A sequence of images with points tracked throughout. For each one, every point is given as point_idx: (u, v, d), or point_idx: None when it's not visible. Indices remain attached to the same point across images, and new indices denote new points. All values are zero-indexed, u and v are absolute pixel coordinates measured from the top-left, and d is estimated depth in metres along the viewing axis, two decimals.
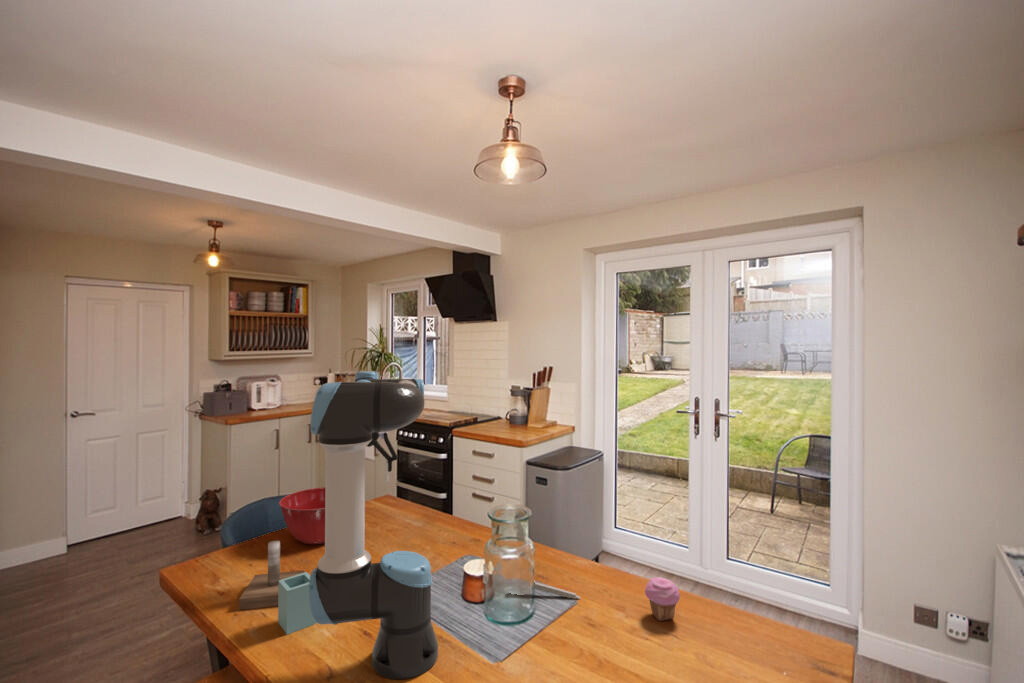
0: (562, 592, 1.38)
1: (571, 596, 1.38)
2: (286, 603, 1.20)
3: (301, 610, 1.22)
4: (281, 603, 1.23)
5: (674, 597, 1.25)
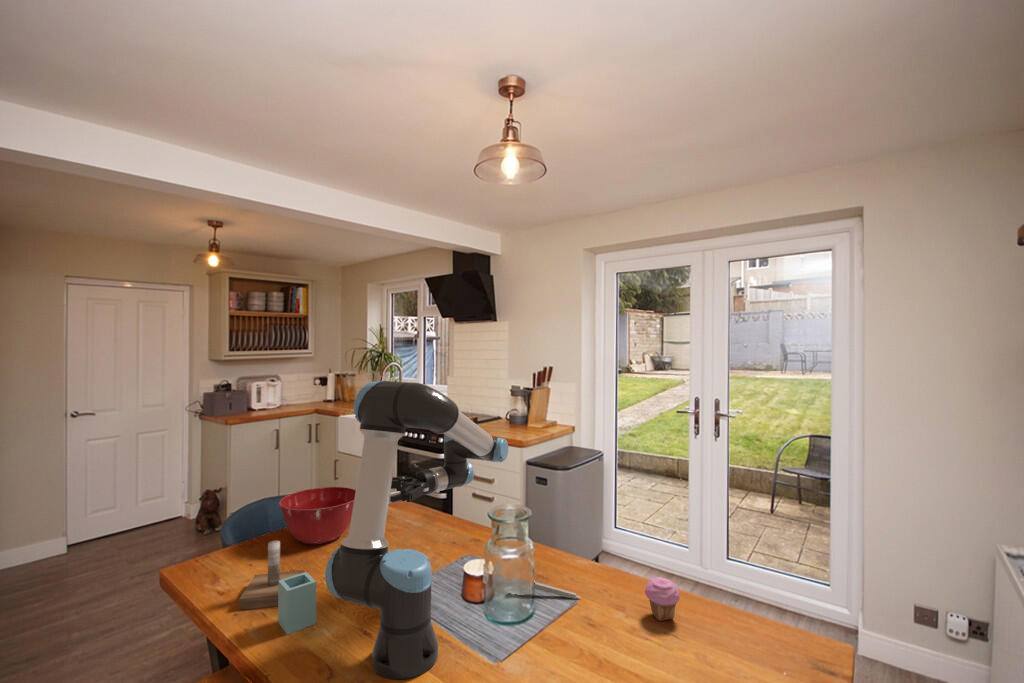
0: (562, 592, 1.38)
1: (571, 596, 1.38)
2: (286, 603, 1.20)
3: (301, 610, 1.22)
4: (281, 603, 1.23)
5: (674, 597, 1.25)
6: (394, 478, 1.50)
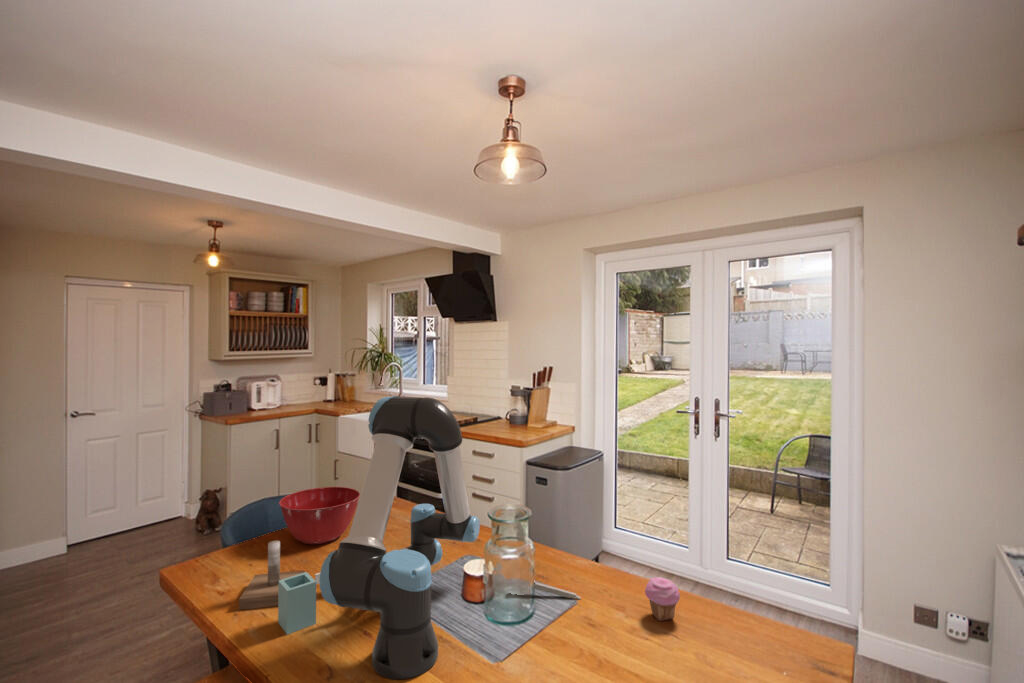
0: (562, 592, 1.38)
1: (571, 596, 1.38)
2: (286, 603, 1.20)
3: (301, 610, 1.22)
4: (281, 603, 1.23)
5: (674, 597, 1.25)
6: None
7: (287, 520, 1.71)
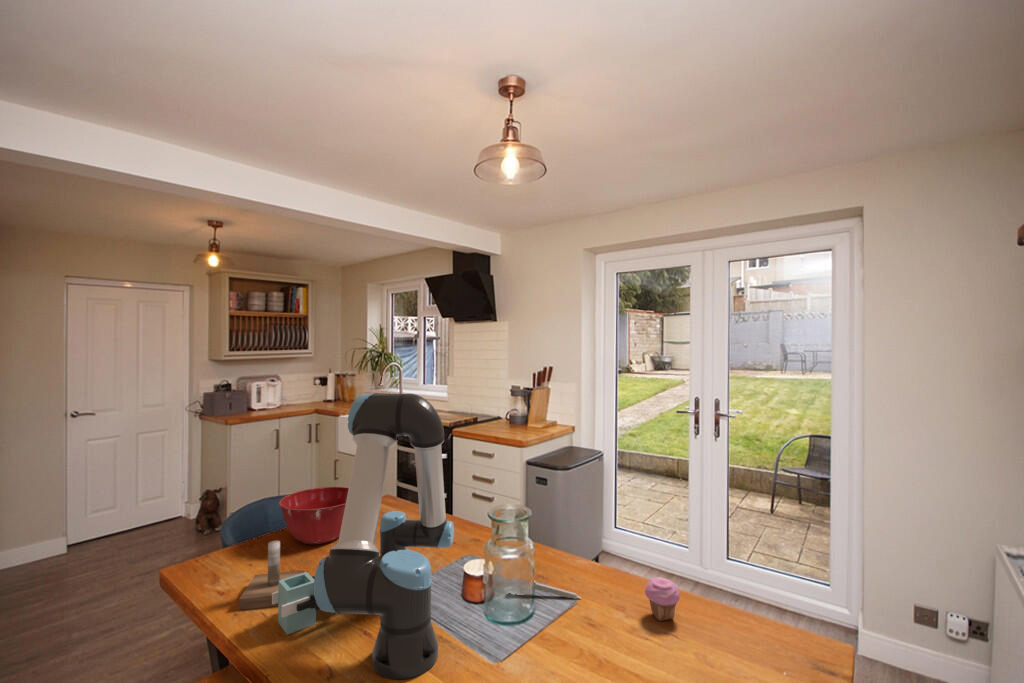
0: (563, 592, 1.38)
1: (572, 596, 1.38)
2: (286, 603, 1.20)
3: None
4: (281, 603, 1.23)
5: (674, 597, 1.25)
6: None
7: (287, 520, 1.71)
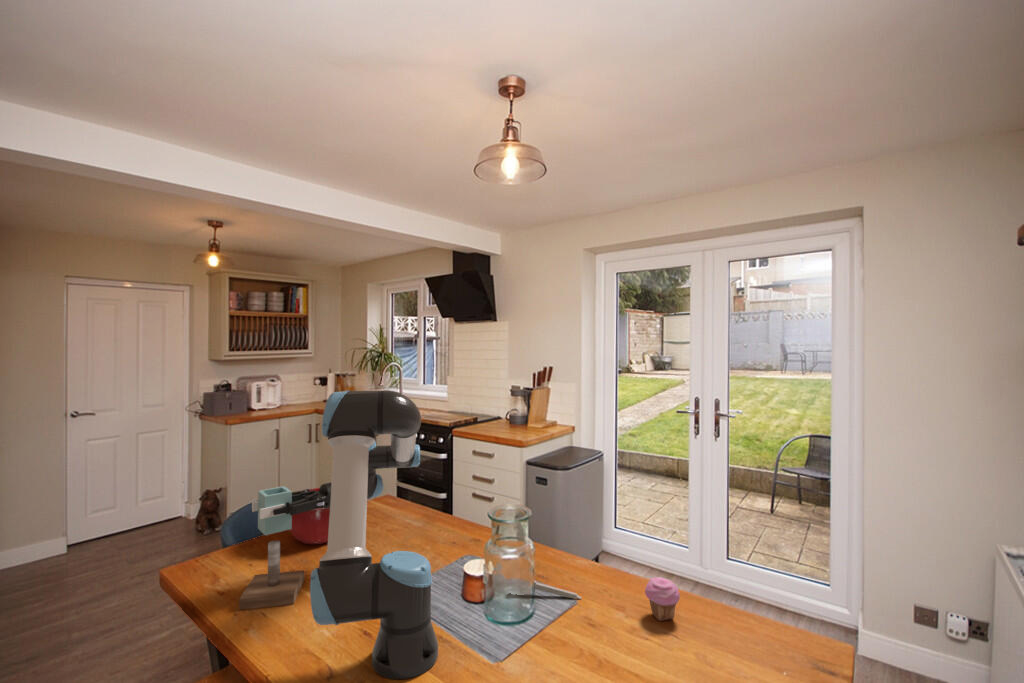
0: (563, 592, 1.38)
1: (572, 596, 1.38)
2: None
3: None
4: None
5: (674, 597, 1.25)
6: (296, 492, 1.49)
7: None
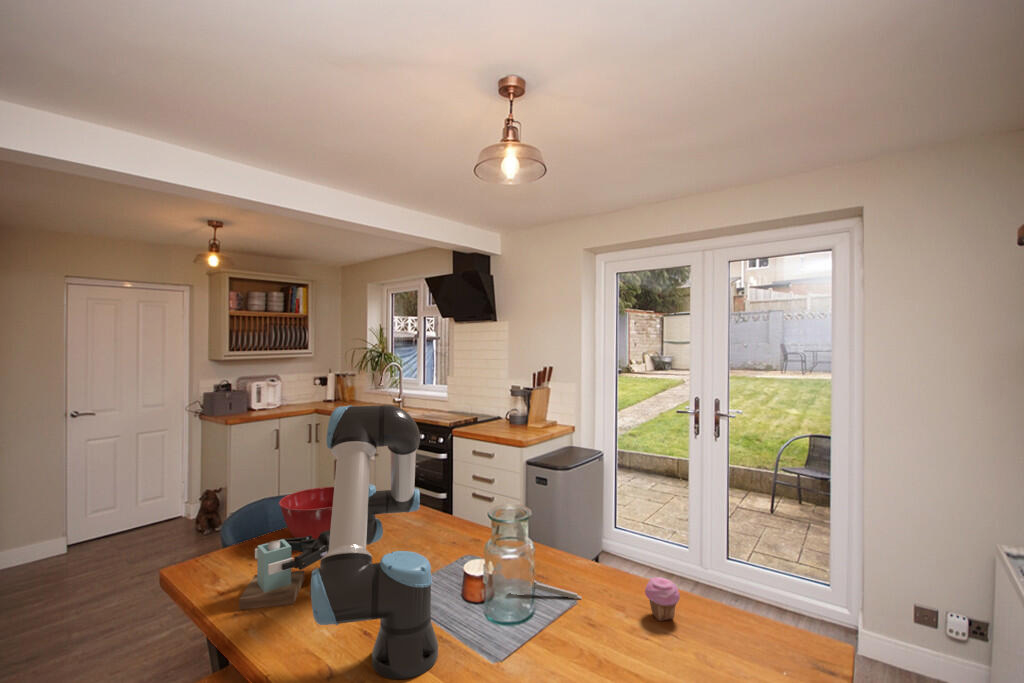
0: (563, 592, 1.38)
1: (572, 596, 1.38)
2: (263, 565, 1.35)
3: None
4: (260, 565, 1.38)
5: (674, 597, 1.25)
6: (297, 539, 1.50)
7: (287, 520, 1.71)
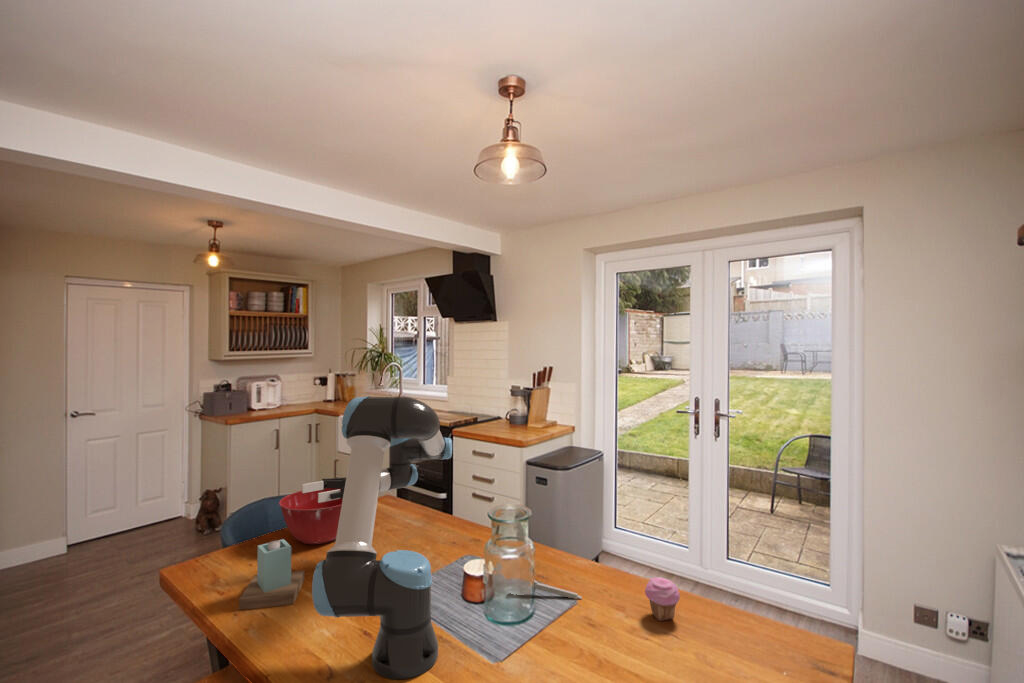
0: (563, 592, 1.38)
1: (572, 596, 1.38)
2: (263, 565, 1.35)
3: (277, 571, 1.37)
4: (260, 565, 1.38)
5: (674, 597, 1.25)
6: (340, 478, 1.61)
7: (287, 520, 1.71)
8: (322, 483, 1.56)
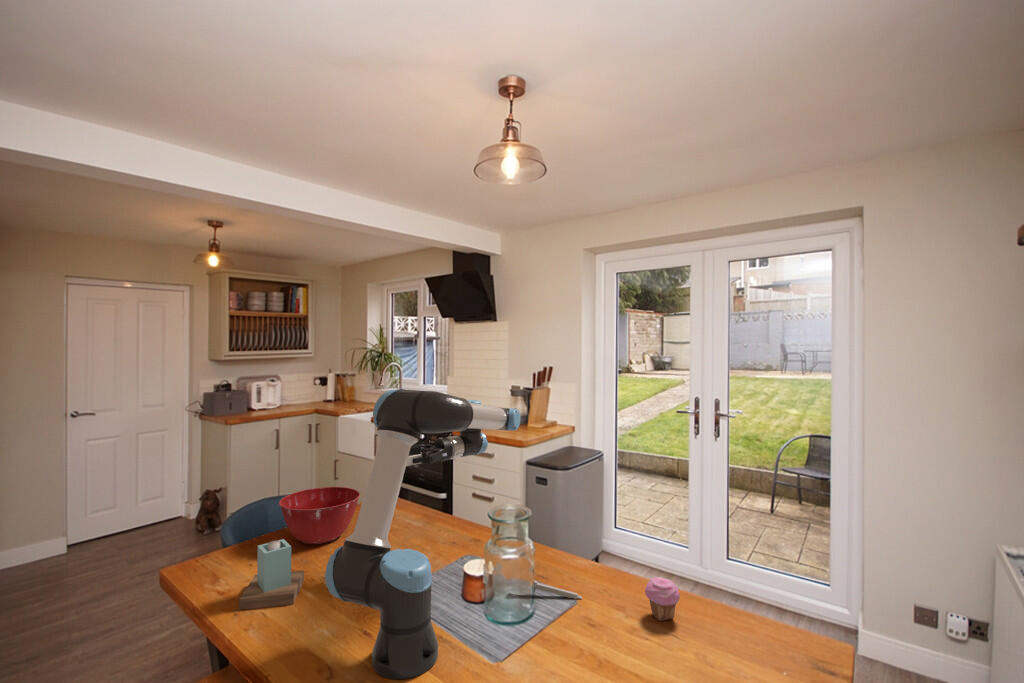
0: (564, 592, 1.38)
1: (573, 596, 1.38)
2: (263, 565, 1.35)
3: (277, 571, 1.37)
4: (260, 565, 1.38)
5: (674, 597, 1.25)
6: (414, 445, 1.61)
7: (287, 520, 1.71)
8: None
